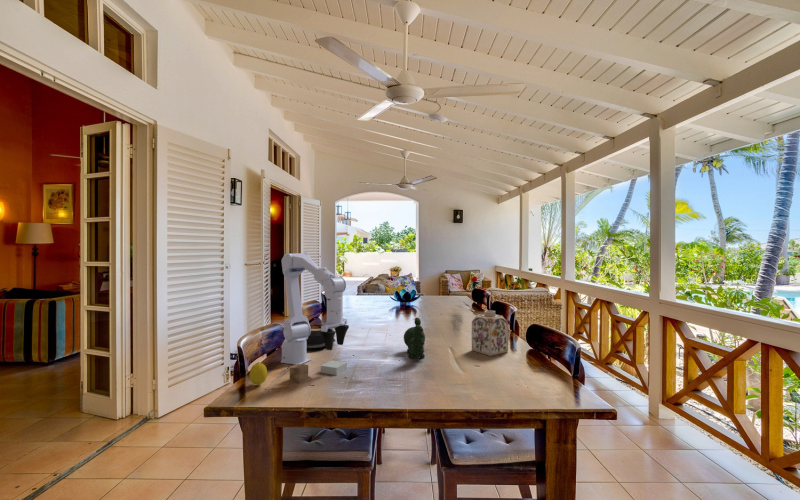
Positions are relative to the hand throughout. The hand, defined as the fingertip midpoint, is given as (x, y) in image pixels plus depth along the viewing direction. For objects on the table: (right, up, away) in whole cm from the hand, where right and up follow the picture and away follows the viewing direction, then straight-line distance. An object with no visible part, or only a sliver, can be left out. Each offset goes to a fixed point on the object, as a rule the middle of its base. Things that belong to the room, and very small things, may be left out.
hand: (334, 347), depth 143 cm
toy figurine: (+31, -10, +24) cm, 40 cm away
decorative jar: (+64, -10, +30) cm, 71 cm away
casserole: (-16, -10, +42) cm, 46 cm away
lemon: (-24, -10, -12) cm, 28 cm away
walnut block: (-12, -10, -6) cm, 16 cm away
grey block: (-1, -10, +4) cm, 11 cm away
